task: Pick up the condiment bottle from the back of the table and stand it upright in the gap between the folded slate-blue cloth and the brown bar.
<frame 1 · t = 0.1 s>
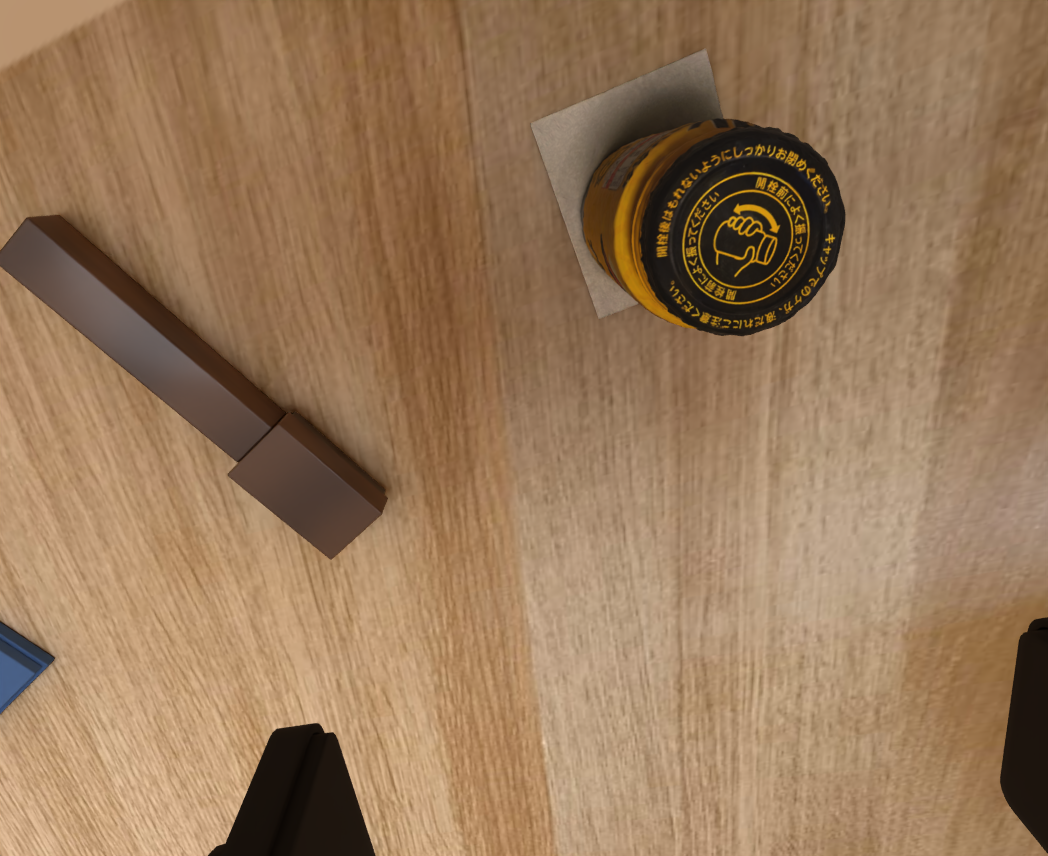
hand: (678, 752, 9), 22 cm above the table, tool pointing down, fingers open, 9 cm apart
condiment: (646, 192, 28), on the table
brown bar: (217, 385, 30), on the table
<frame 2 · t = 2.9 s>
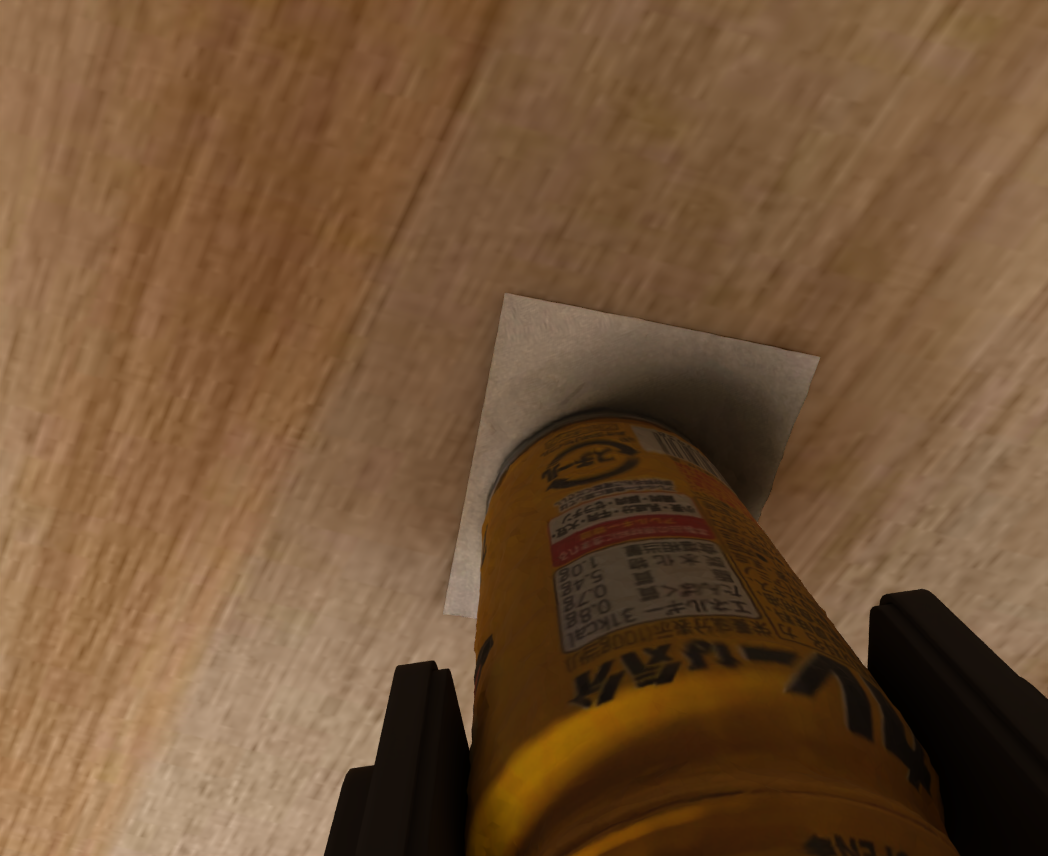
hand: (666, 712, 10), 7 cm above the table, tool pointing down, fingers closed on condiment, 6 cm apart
condiment: (615, 486, 17), on the table, touching gripper
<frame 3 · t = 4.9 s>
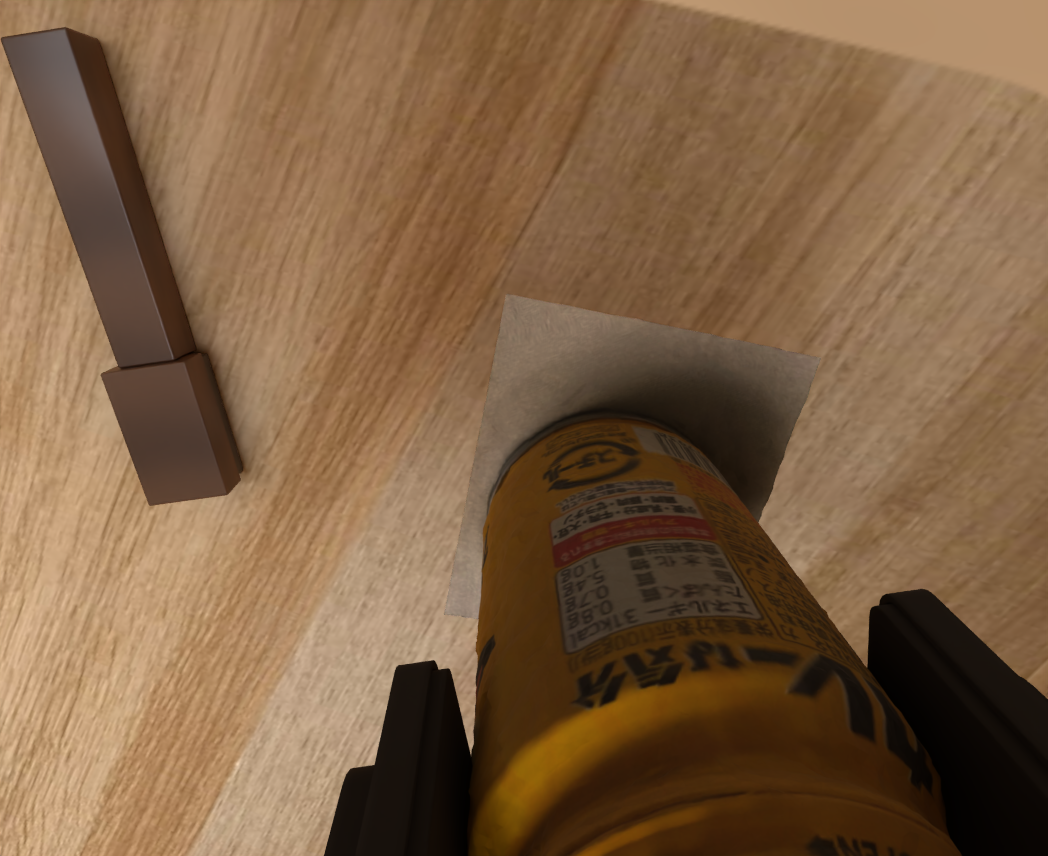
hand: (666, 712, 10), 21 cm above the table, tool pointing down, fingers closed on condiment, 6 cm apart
condiment: (616, 486, 17), point 14 cm above the table, touching gripper
brown bar: (147, 284, 28), on the table
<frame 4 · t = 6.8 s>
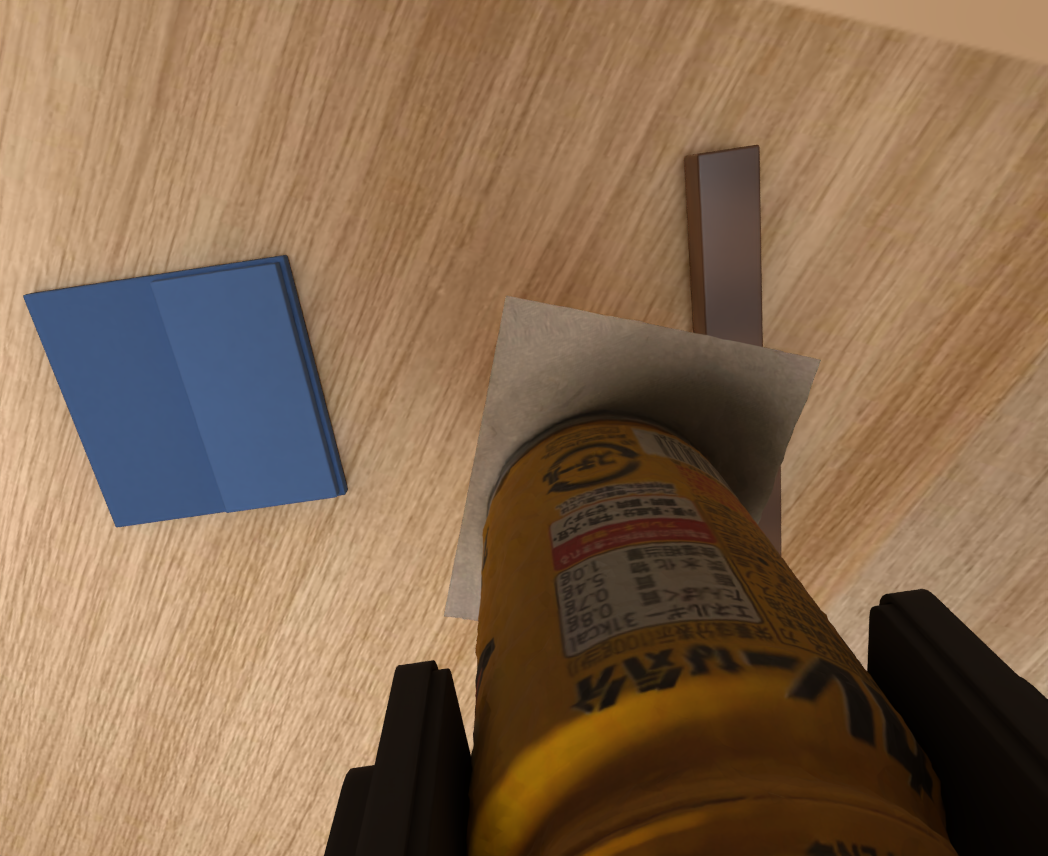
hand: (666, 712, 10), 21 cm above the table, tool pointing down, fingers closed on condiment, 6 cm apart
condiment: (616, 488, 17), point 14 cm above the table, touching gripper
brown bar: (721, 364, 30), on the table
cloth: (199, 397, 30), on the table
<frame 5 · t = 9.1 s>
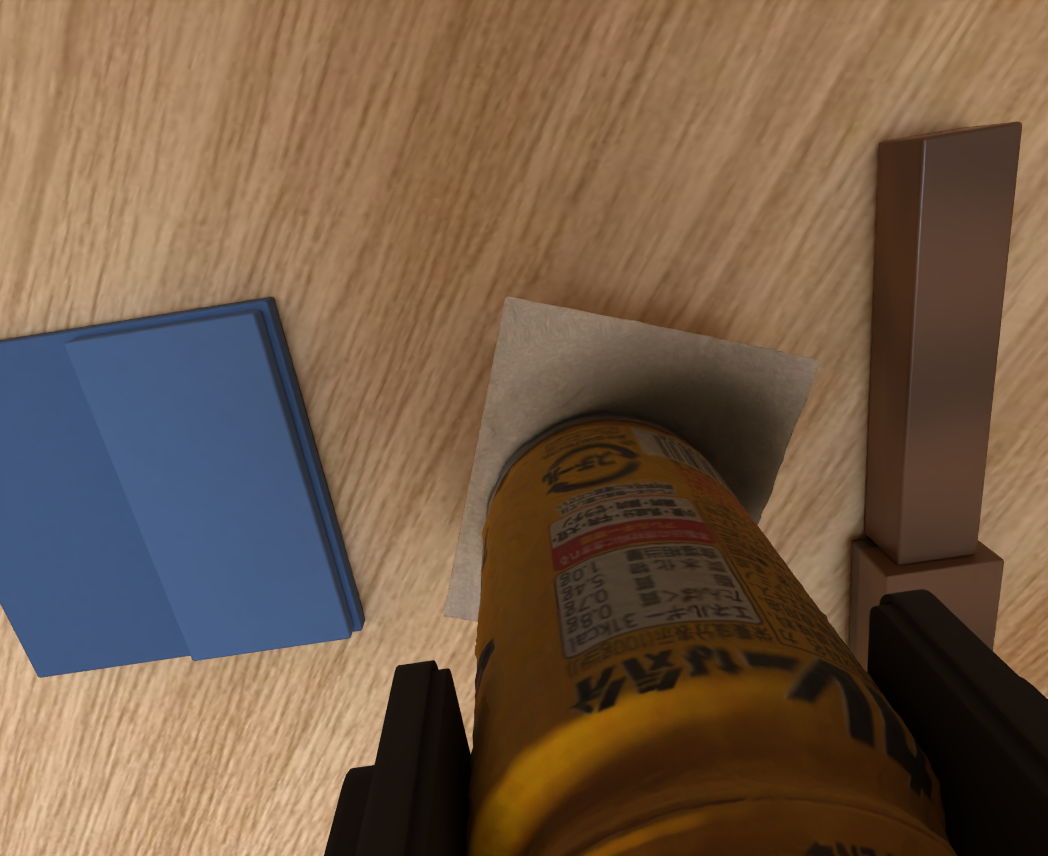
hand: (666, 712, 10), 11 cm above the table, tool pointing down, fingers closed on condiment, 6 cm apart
condiment: (615, 488, 17), point 4 cm above the table, touching gripper
brown bar: (904, 444, 21), on the table
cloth: (150, 500, 21), on the table
when the fingers open (7 cm above the table, at t = 10.6 s): condiment stays where it is, on the table.
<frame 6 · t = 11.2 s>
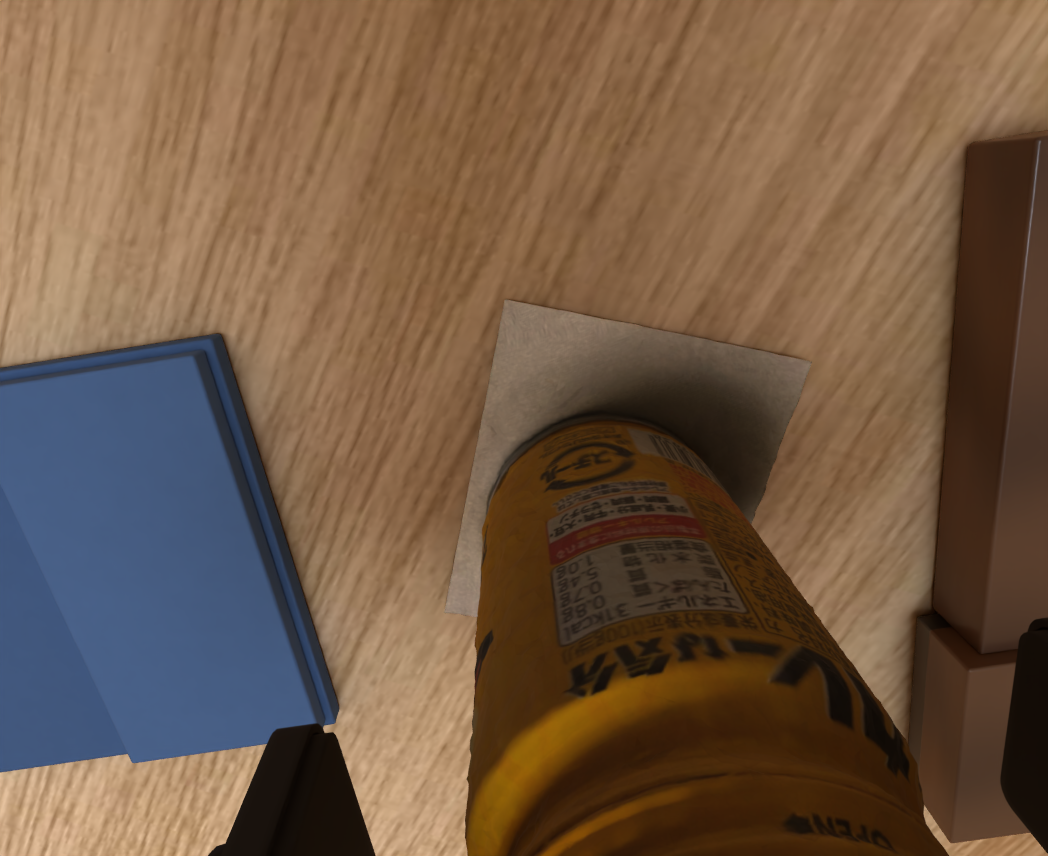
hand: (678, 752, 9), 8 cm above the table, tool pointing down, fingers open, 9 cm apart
condiment: (612, 487, 17), on the table
brown bar: (984, 505, 17), on the table
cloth: (79, 573, 17), on the table
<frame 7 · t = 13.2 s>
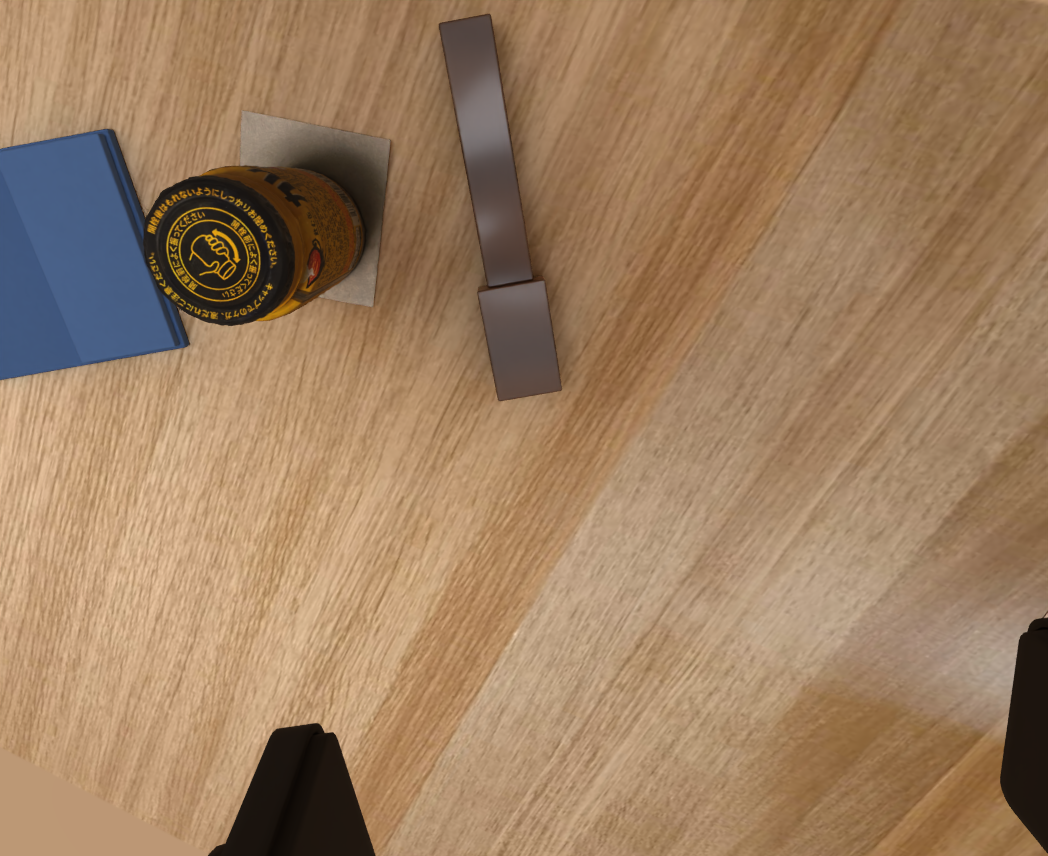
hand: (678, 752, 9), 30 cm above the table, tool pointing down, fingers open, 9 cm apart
condiment: (312, 213, 35), on the table
brown bar: (500, 221, 35), on the table
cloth: (52, 261, 35), on the table
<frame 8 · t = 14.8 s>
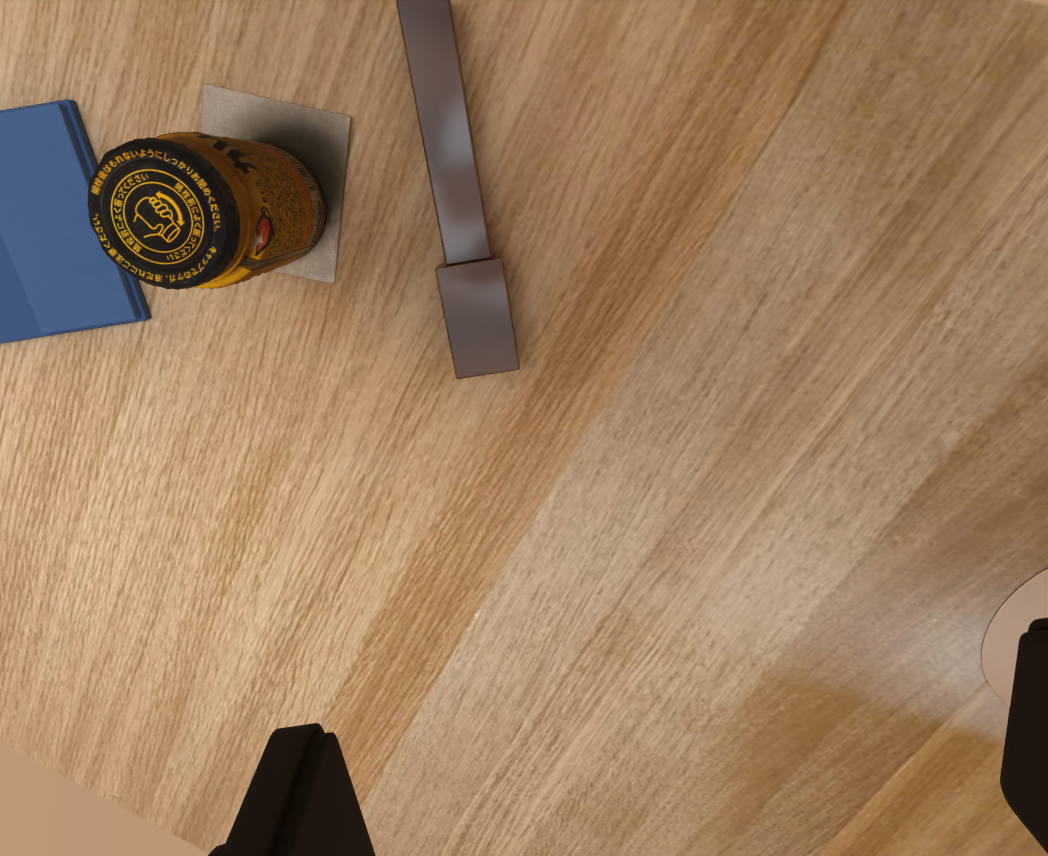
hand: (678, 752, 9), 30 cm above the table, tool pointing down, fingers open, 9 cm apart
condiment: (274, 188, 35), on the table
brown bar: (460, 200, 35), on the table
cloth: (14, 231, 35), on the table
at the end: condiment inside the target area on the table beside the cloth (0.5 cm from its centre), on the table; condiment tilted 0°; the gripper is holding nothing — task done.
